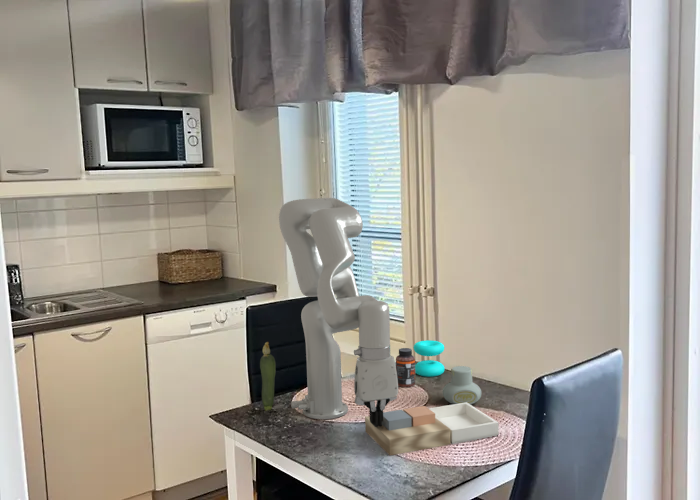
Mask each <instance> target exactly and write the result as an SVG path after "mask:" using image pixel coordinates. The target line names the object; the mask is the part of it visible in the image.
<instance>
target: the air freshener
mask: <svg viewBox="0 0 700 500" xmlns="http://www.w3.org/2000/svg"><path fill="white" fill-rule="evenodd" d="M450 371H451V372H450V377H451V379H450V382H448V383H446V384H445V386H443V389H442V396H443V398H444V400H446V401H447V402H448V403H450V404H451V405H453V404H459V403H466V402H467V403H469V404H470V405H473V404H475V403H477V402H478V401H479V400H480V399H481V397H482V389H481V388H480V386H479V385H478V384H477V383H475V382H473V369H472V368H471V367H470V366H465V365H458V366H457V365H456V366H453V367H452V368H451V370H450Z"/></svg>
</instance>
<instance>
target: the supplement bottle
mask: <svg viewBox="0 0 700 500" xmlns="http://www.w3.org/2000/svg"><path fill="white" fill-rule="evenodd" d="M412 350H413V349H412V348H407V347H403V348H402V347H401V348H398V355H397V356H396V357H395V365H396V371H397V379H398V387H399V388H400V387H401V388H411V387H414V386H415V385H416V373H415V364H416V357H415V356H414V355H413V351H412Z"/></svg>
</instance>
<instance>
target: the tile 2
mask: <svg viewBox="0 0 700 500" xmlns="http://www.w3.org/2000/svg"><path fill="white" fill-rule="evenodd" d="M402 410H403V411H404V412H405V413H406V414H408V415H409V416H410V417H411V424H412V426H419V425H425V424H431V423H435V413H434V412H432V411H431V410H430V409H428V407H427V406H425V405H422V406H415V407H414V406H413V407H408V408H404V409H402Z"/></svg>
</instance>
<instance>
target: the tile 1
mask: <svg viewBox="0 0 700 500" xmlns="http://www.w3.org/2000/svg"><path fill="white" fill-rule="evenodd" d="M382 425H383V426H384V427H386V428H387V429H388V430H389V431H390V430H396V429H401V428H407V427H412V424H411V417H410V416H409V415H408V414H406V413H405V412H404V411H403V409H395V410H390V411H383V421H382Z"/></svg>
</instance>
